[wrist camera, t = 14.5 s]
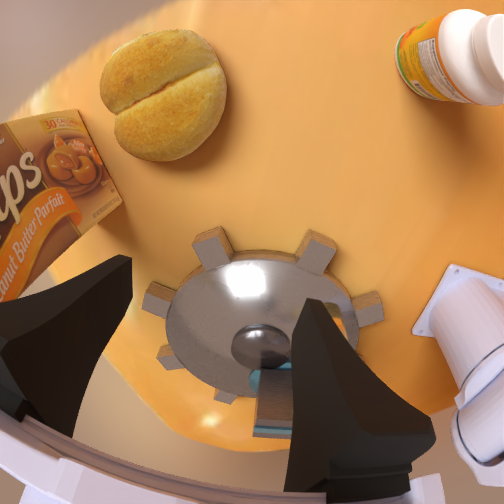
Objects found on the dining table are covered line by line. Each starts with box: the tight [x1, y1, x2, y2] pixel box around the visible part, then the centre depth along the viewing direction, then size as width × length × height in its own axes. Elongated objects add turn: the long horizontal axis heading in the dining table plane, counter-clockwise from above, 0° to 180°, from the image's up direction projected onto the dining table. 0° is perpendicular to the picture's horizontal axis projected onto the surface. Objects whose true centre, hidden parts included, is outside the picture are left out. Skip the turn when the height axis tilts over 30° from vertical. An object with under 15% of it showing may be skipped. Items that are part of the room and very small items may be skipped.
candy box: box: [0, 109, 123, 302], centre depth 13 cm, size 9×4×15 cm, turn 24°
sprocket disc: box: [142, 226, 384, 405], centre depth 24 cm, size 21×21×6 cm
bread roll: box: [100, 29, 227, 161], centre depth 16 cm, size 8×9×4 cm
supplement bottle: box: [395, 9, 504, 106], centre depth 10 cm, size 5×5×10 cm
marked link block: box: [252, 368, 293, 439], centre depth 24 cm, size 4×5×5 cm
